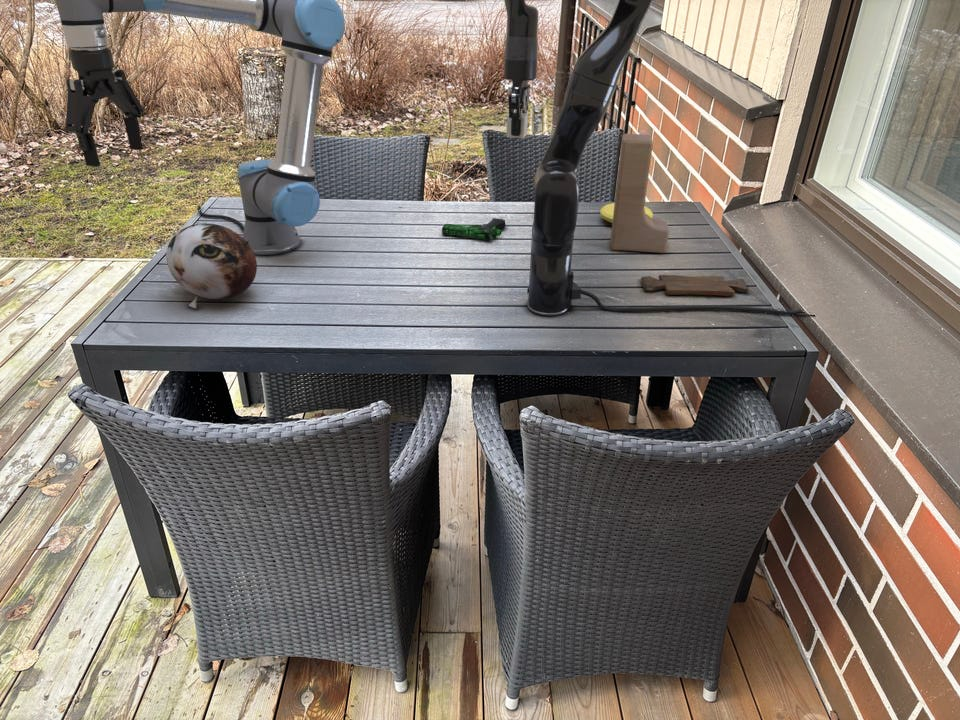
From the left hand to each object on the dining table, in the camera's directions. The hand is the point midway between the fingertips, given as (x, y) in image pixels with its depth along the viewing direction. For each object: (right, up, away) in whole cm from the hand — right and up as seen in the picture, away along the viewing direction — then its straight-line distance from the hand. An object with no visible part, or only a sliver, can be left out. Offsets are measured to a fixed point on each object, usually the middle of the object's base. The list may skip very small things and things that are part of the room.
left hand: (116, 157), depth 150 cm
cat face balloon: (+15, -28, +19) cm, 36 cm away
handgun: (+76, -6, +57) cm, 95 cm away
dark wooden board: (+130, -25, +26) cm, 135 cm away
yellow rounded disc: (+121, -1, +66) cm, 138 cm away
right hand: (+86, +12, +21) cm, 89 cm away
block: (+86, +11, +22) cm, 89 cm away
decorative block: (+121, -11, +49) cm, 131 cm away
